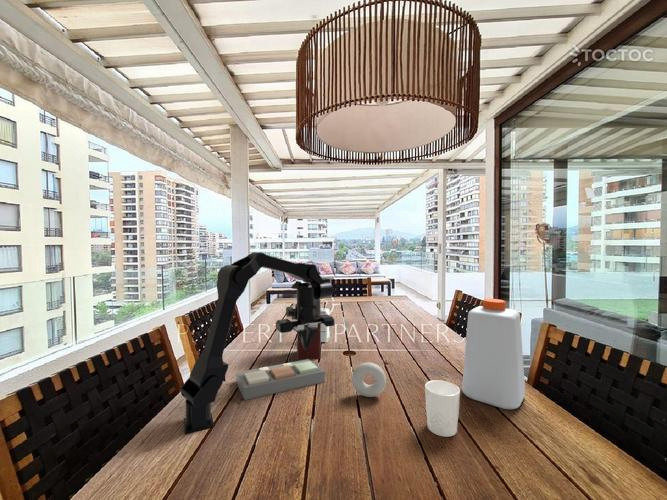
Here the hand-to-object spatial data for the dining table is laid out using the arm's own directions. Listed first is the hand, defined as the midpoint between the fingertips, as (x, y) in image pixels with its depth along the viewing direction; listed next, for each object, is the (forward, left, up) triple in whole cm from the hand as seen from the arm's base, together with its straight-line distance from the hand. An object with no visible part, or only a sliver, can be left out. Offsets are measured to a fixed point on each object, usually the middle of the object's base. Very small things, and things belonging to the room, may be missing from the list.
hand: (305, 349), depth 101 cm
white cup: (-40, -19, -10) cm, 45 cm away
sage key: (0, 0, -7) cm, 7 cm away
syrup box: (+34, -22, -10) cm, 42 cm away
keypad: (+2, +8, -10) cm, 13 cm away
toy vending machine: (+19, -9, -10) cm, 23 cm away
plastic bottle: (-35, -45, -10) cm, 58 cm away
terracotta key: (0, +8, -8) cm, 11 cm away
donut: (-19, -12, -10) cm, 25 cm away
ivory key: (0, +16, -7) cm, 18 cm away
